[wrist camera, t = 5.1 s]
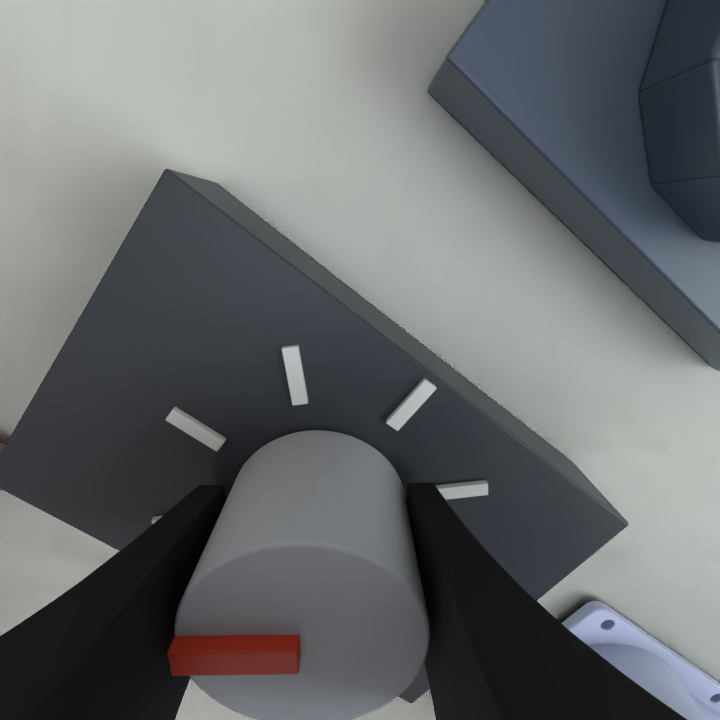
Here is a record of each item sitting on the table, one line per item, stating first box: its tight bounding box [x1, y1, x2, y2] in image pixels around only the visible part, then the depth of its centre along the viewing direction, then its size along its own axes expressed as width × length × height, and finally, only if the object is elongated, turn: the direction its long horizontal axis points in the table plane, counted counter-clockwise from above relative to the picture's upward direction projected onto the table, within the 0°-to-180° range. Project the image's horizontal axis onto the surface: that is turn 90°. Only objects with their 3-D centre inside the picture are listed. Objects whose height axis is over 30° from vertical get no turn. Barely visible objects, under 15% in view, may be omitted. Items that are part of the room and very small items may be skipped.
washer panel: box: [0, 169, 628, 703], centre depth 12 cm, size 14×9×3 cm, turn 52°
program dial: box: [167, 430, 430, 720], centre depth 8 cm, size 4×4×4 cm
